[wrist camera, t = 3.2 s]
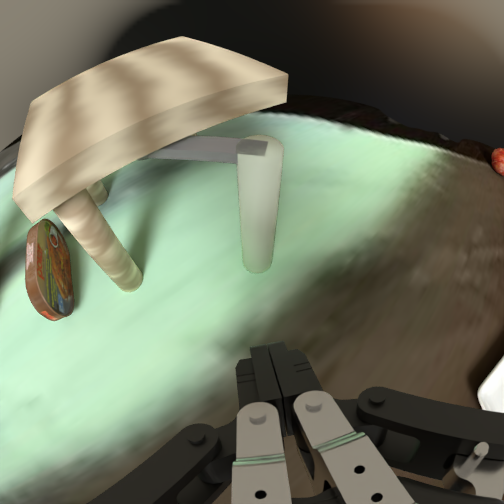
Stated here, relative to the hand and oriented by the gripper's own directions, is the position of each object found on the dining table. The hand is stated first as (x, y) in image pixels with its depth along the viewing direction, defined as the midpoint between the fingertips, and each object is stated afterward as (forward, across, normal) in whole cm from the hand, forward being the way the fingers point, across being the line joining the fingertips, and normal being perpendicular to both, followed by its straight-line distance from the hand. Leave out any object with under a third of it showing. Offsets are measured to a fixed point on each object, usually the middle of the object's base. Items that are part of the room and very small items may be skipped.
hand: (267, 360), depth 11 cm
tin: (+24, +26, +1) cm, 35 cm away
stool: (+31, +10, -7) cm, 34 cm away
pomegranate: (+35, -72, -8) cm, 80 cm away
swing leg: (+24, +2, +1) cm, 24 cm away
